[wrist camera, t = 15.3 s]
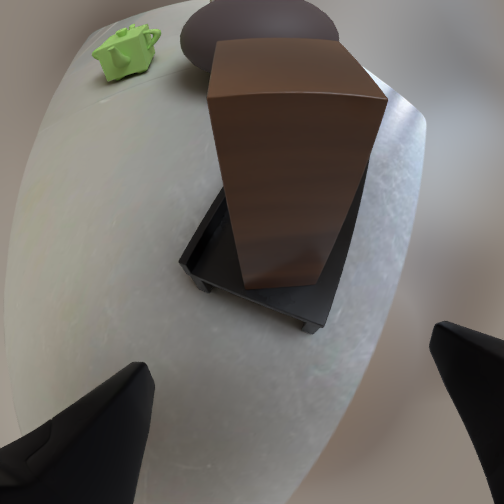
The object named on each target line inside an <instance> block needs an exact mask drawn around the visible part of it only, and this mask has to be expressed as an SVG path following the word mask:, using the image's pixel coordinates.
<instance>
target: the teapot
mask: <svg viewBox="0 0 504 504" xmlns="http://www.w3.org/2000/svg"><path fill="white" fill-rule="evenodd" d="M150 34H153V38H152V39H151V35H150ZM160 36H161V31H160V30H158V29H152V30H149V27H148V24H146V25H142V26H139V27H136V28H135V24H132V25H130V27H129V30H127V28H123V29H121V30H118V31H117V32H116V34H115V35H113V36H110V37H109V38H108V39H107V40H106V41H105V42H104V43H103V44H102V45H101V46H100V47H99V48H97V49H96V50H94V51H93V53H92V56H93V57H94V58H95V59H97V60H99V61H100V63H101V66H102V69H103V71H104V74H105V76H106V79H107V81H111V80H114V79H116V80H120V79H122V78H124V77H125V76H126V75H129V74H132V73H135V72H138V73H143V72H145V71H146V70H147V69H148V67H149V65H150V62H151V60H152V58H153V56H154V54H155V50H154V46H153V45H154V44H155V43H156V42H157V41H158V39H159V38H160Z"/></svg>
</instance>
